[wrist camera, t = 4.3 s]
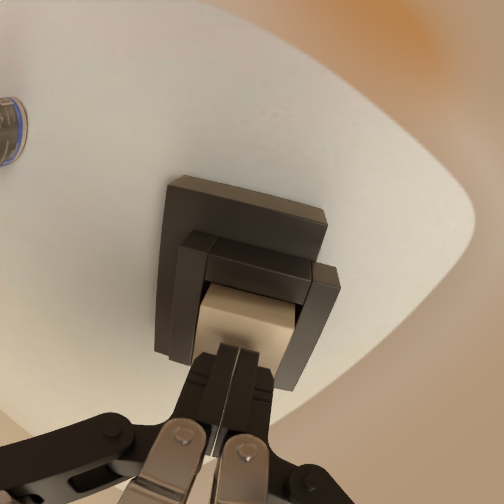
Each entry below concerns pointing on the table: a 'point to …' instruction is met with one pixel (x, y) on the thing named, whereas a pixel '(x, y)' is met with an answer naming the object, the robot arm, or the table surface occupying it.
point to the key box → (241, 264)
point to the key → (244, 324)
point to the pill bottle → (11, 129)
